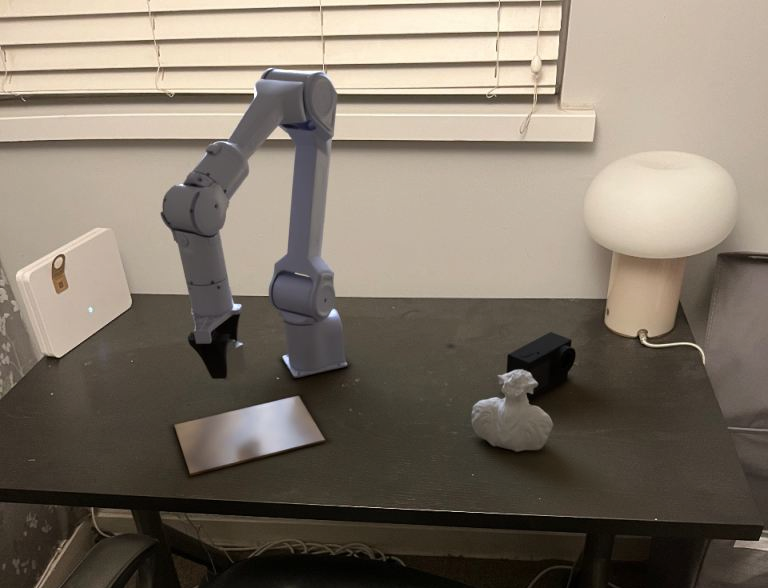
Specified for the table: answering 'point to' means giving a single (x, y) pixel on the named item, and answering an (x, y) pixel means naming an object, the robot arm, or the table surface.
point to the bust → (512, 416)
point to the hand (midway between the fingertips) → (224, 365)
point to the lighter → (235, 359)
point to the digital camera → (544, 361)
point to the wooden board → (246, 434)
